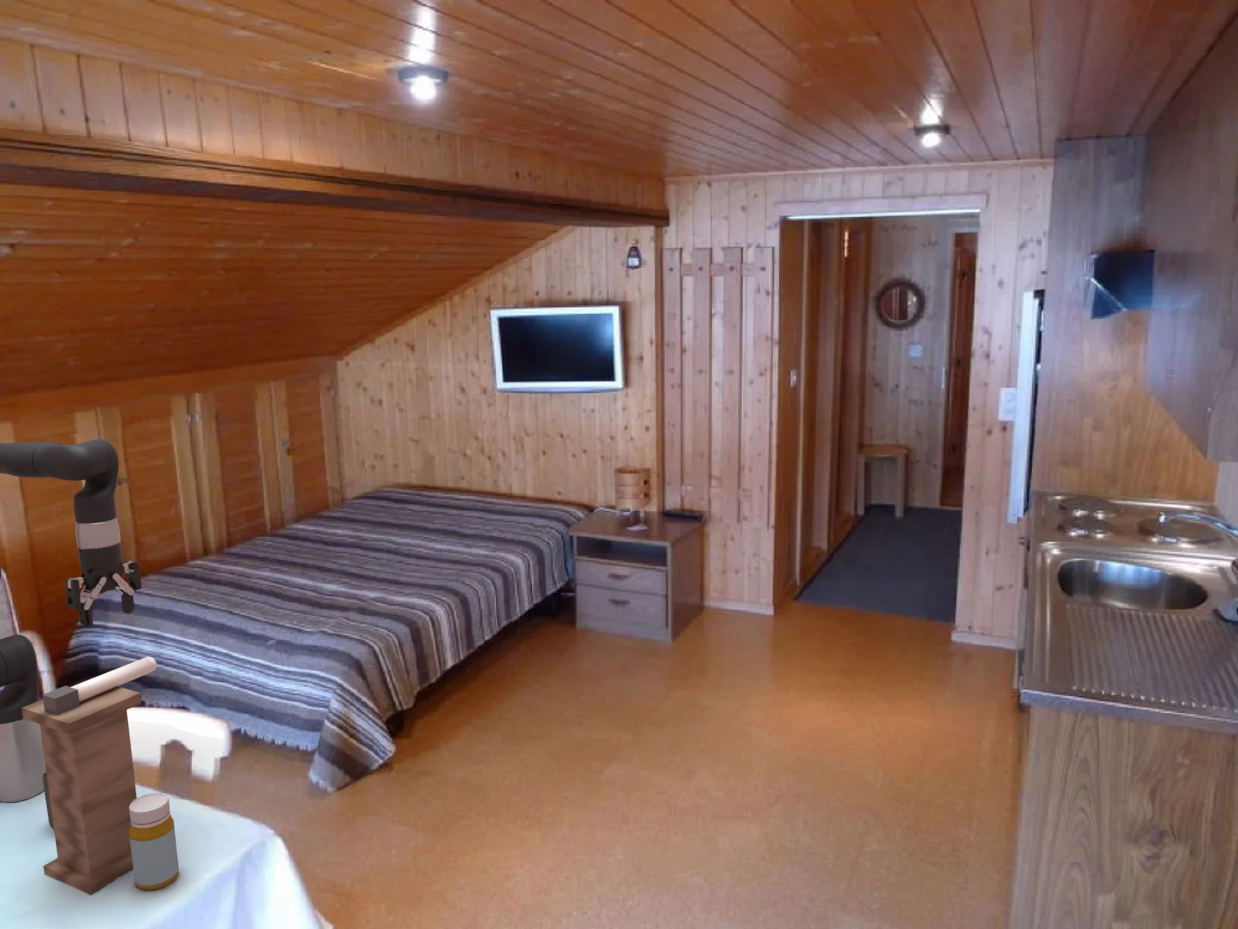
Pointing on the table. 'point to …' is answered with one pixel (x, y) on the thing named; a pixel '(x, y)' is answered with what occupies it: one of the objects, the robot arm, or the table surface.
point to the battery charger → (47, 799)
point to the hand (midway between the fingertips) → (108, 619)
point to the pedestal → (89, 787)
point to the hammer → (95, 686)
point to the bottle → (153, 842)
